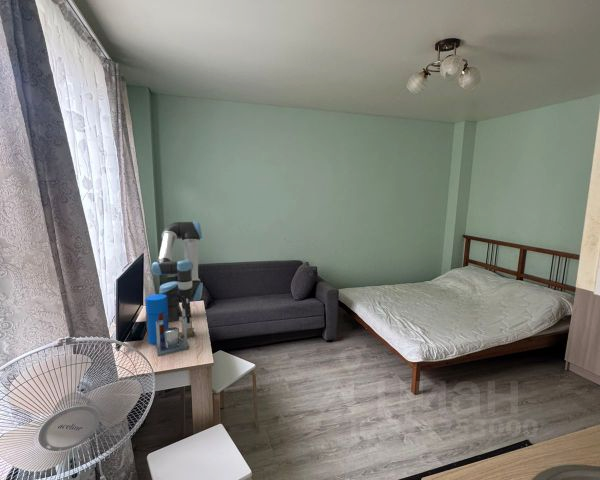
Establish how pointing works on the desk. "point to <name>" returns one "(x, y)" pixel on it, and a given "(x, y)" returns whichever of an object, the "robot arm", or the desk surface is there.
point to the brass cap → (189, 330)
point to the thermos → (156, 316)
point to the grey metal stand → (172, 339)
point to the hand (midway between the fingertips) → (186, 323)
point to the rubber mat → (189, 335)
